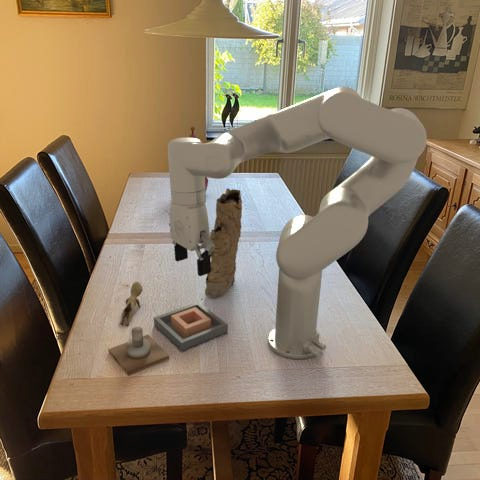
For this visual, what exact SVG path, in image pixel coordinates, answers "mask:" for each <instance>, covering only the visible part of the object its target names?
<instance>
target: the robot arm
mask: <svg viewBox="0 0 480 480" xmlns="http://www.w3.org/2000/svg"><path fill="white" fill-rule="evenodd" d="M328 139H331V140H333V141H335V142H337V143H338V144H342V145H344V146H346V147H349V148H351V149H353V150H356V151H358V152H361V153H364V154H366V155H368V156H371V157H370V158H369V159H367V161H366V162H365V163H363V165H362V166H361V167H360V168H359V169H357V170H356V171H355V172H354V173H352V175H350V176H349V177H347V178H346V179H345V180H344V181H342V182H341V183H340V184H338V185H337V186H336V187H334V188H333V189H331V190H330V191H328V193H326V195H325V196H324V197H322V199H321V201H320V206H319V209H318V213H317V214H316V215H314V216H311V215H307V214H300V215H296V216H294V217H292V218H291V219H289V220H287V222H286V223H285V225H284V226H283V228H282V230H281V233H280V237H279V241H278V245H277V248H276V253H275V258H276V265H277V266H278V279H277V281H278V282H277V297H276V312H275V328H273V329H272V330H271V331H270V332H269V334H268V338H267V344H268V346H269V348H270V349H271V350H272V351H273V352H275V353H276V354H277V355H279V356H281V357H285V358H287V359H293V360H296V359H297V360H303V359H308V358H311V357H315V358H317V359H321V358H322V357H323V354H324V351H325V350H326V349H327V345H326V344H324V343H323V342H322V338H321V336H320V332H318V331H317V327H318V326H317V324H318V314H319V306H320V295H321V289H322V288H321V287H322V278H323V270H325V269H326V268H327V267H329V266H330V265H332V264H333V263H335V262H336V261H337V260H339V259H340V258H341V257H343V256H344V255H346V254H347V253H348V252H349V251H351V250H352V249H353V248H355V247H356V246H357V245H358V244H359V243H360V242H361V240H362V239H363V238H364V237H365V235H366V234H367V230H368V226H369V217H370V216H371V214H372V213H374V212H375V211H376V210H378V209H379V208H380V207H381V206H382V205H384V204H385V203H386V202H387V201H388V200H390V199H391V198H392V197H394V195H396V194H397V193H398V192H399V191H400V190H402V188H403V187H404V186H405V184H406V183H407V182H408V180H410V177H411V176H412V174H413V172H414V170H415V167H416V164H417V161H418V158H419V157H420V156H421V155H422V153H424V151H425V148H426V146H427V142H428V136H427V130H426V128H425V126H424V125H423V123H422V121H420V119H419V118H418V117H417V115H416V114H415V113H414V112H412V111H410V110H409V109H406V108H403V107H396V108H391V109H388V108H385V107H383V106H381V105H378V104H376V103H374V102H371V101H369V100H367V99H364V98H362V96H361V94H359V93H358V92H357V91H356V90H354V89H353V88H351V87H349V86H339V87H336V88H333V89H331V90H330V89H329V90H327V91H325V92H322V93H320V94H318V95H315V96H313V97H311V98H308V99H305V100H303V101H301V102H298V103H295V104H294V105H293V104H292V105H291V106H288V107H285V108H283V109H280V110H278V111H275V112H272V113H270V114H267V115H266V116H263V117H260V118H258V119H255V120H253V121H250V122H248V123H245V124H242V125H240V126H238V127H236V128H232V129H230V130H228V131H226V132H224V133H221V134H219V135H217V136H216V137H214V138H213V139H212V140H211V141H208V142H206V143H205V142H204V143H203V141H201V140H200V139H198V138H197V139H196V138H189V137H177V138H174V139H171V140H170V141H169V142H168V144H167V160H168V172H169V173H168V174H169V187H170V188H169V189H170V199H171V200H170V205H169V207H170V208H169V224H168V225H169V231H170V232H169V234H170V235H169V236H170V239H171V240H172V245H173V247H174V260H175V262H177V263H179V262H180V261H183V260H187V259H188V257H189V256H188V253H189V251H191V252H193V251H195V253H196V256H197V258H198V259H196V267H197V275H198V276H199V277H202V276H206V275H207V274H208V273H210V272H211V257H212V254H213V250H214V248H215V245H214V243H213V242H212V240H211V239H210V234H211V232H210V225H209V224H210V223H209V215H208V209H207V205H206V203H207V199H206V198H207V195H206V192H207V191H206V192H205V177H207V178H211V179H218V180H219V179H225V178H227V177H229V176H230V175H231V174H233V173H234V171H235V169H236V168H237V167H238V165H240V164H241V163H244V162H246V161H249V160H251V159H255V158H257V157H259V156H260V157H261V156H262V155H266V154H269V153H275V152H276V153H284V154H289V153H293V152H297V151H299V150H302V149H304V148H307V147H310V146H312V145H314V144H317V143H320V142H322V141H325V140H328ZM202 249H203V250H204V251H203V252H202V251H201V250H202ZM188 250H189V251H188Z"/></svg>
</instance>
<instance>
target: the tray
mask: <svg viewBox="0 0 480 480" xmlns="http://www.w3.org/2000/svg"><path fill="white" fill-rule="evenodd" d="M194 307H196V308H197V309H198V310H200V311H201V312H202V313H203V314H205V315H206V316H207V317H208V318H210V319H211V329H208V330H205V331H203V332H200V333H198V334H195V335H193V336H190V337H188V338H184V337H183V336H182V335H181V334H180V333H178V332H177V331H176V330H175V329H174V328H173V327H172V326H171V315H174V314H177V313H180V312H183V311H186V310H188V309H191V308H194ZM191 323H194V321H193V322H190V323H188V324H191ZM153 325H154V328H155V329H156V330H157V331H159V333H161V334H162V335H163V336H164V337H165V338H166V339H167V340H168V341H169V342H170V343H171V344H172V345H173V344H174V345H175V346H176V347H177V348H176V347H175V346H174V345H173V346H174V347H175V348H176V349H177V350H179V351H180V352H181V353H184V352H187V351H188V349H189V350H191V349H194V348H196V347H198V345H199V346H200V345H203V343H204V344H206V343H208V342H211V341H213V340H216V339H218V338H220V336H221V337H223V336H225V335H227V334H228V333H229V332H228V329H229V323H227V322H225V321H224V320H222V318H220V317H219V316H217V315H216V314H215V313H213V312H212V311H211V310H210V309H208V308H207V307H205V306H204V305H203V304H202V303H200V302H199V301H197V302H194V303H191V304H189V305H186V306H183V307H181V308H180V307H179V308H177V309H174V310H171V311H169V312H166V313H163V314H160V315H157V316H154V317H153ZM222 335H223V336H222ZM215 338H216V339H215ZM210 340H211V341H210ZM193 347H194V348H193ZM190 348H191V349H190Z"/></svg>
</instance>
